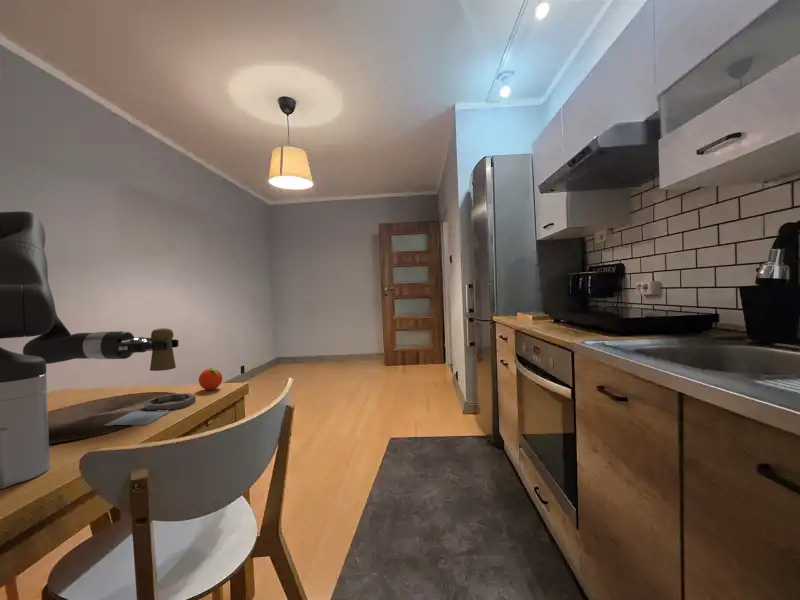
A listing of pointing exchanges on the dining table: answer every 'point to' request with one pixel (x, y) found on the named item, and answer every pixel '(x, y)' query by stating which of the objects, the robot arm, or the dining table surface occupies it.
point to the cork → (162, 351)
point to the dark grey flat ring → (153, 406)
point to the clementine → (210, 379)
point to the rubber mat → (138, 418)
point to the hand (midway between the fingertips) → (172, 344)
